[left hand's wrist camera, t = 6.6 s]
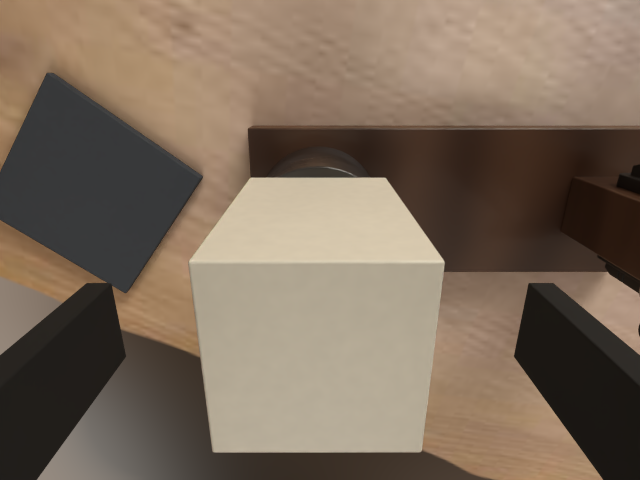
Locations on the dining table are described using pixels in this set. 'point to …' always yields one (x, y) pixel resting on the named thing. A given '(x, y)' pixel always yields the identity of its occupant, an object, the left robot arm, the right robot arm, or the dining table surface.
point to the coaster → (91, 185)
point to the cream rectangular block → (316, 318)
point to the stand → (485, 187)
